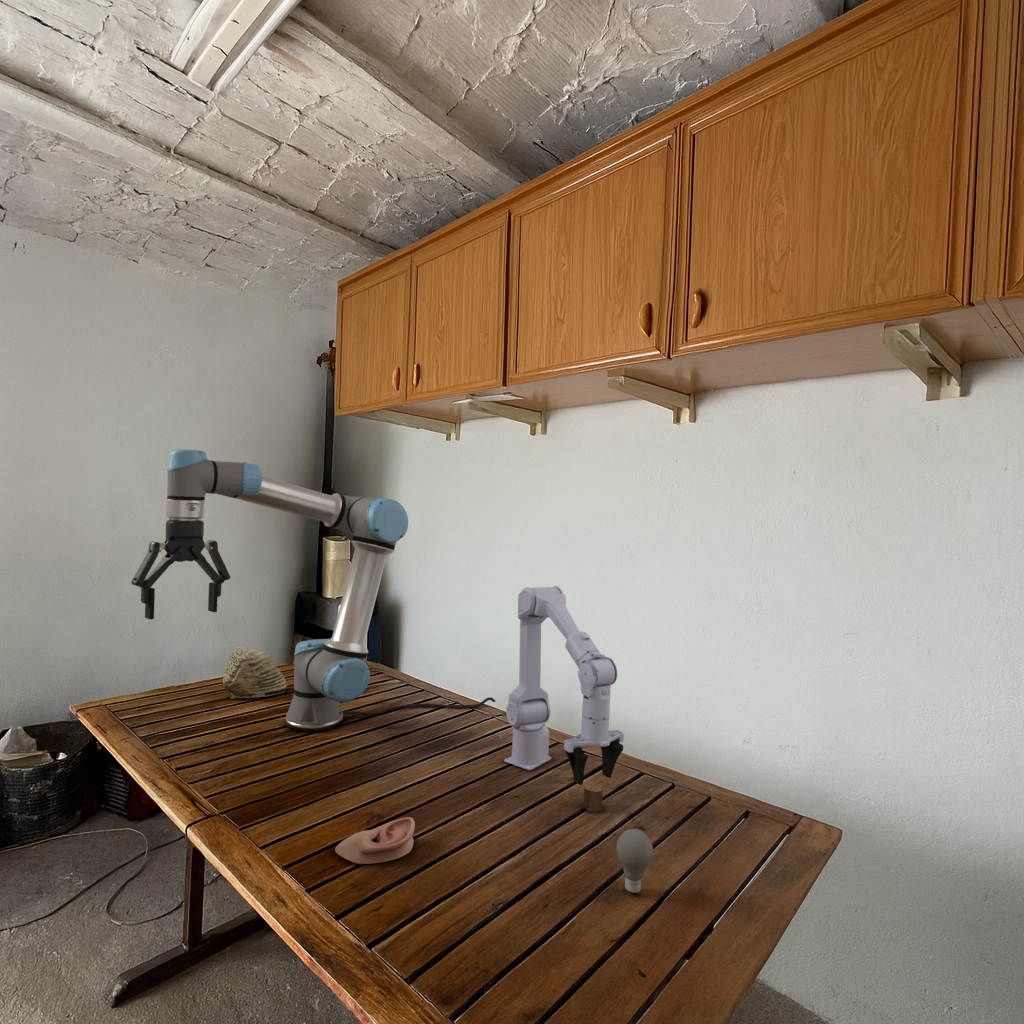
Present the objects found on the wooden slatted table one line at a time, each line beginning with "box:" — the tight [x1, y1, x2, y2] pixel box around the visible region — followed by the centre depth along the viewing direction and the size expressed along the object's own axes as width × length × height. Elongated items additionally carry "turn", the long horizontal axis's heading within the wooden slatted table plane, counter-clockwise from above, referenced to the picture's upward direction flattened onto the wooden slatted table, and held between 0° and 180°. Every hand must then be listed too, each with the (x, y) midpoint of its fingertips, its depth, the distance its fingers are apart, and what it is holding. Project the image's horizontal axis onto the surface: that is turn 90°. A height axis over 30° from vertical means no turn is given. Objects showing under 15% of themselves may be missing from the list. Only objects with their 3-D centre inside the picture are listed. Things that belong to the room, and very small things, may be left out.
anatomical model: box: [334, 816, 416, 865], centre depth 115 cm, size 13×4×12 cm
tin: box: [582, 782, 604, 813], centre depth 134 cm, size 4×4×4 cm
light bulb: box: [615, 828, 654, 894], centre depth 106 cm, size 6×6×10 cm
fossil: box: [222, 646, 288, 699], centre depth 198 cm, size 9×18×15 cm, turn 132°
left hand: (182, 614), depth 141 cm, fingers open, 13 cm apart
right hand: (592, 779), depth 134 cm, fingers open, 7 cm apart
